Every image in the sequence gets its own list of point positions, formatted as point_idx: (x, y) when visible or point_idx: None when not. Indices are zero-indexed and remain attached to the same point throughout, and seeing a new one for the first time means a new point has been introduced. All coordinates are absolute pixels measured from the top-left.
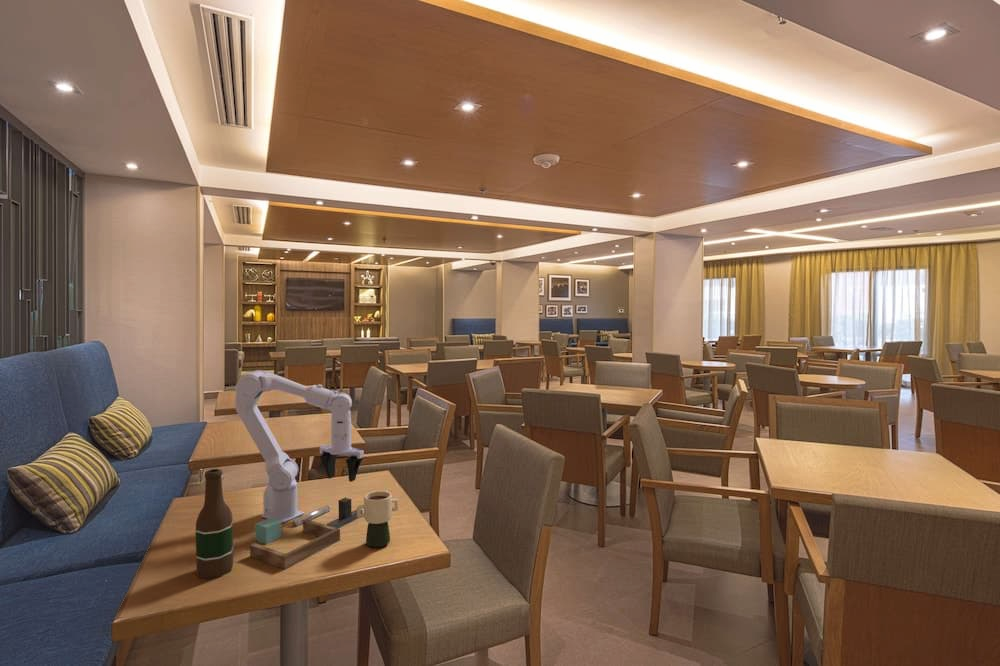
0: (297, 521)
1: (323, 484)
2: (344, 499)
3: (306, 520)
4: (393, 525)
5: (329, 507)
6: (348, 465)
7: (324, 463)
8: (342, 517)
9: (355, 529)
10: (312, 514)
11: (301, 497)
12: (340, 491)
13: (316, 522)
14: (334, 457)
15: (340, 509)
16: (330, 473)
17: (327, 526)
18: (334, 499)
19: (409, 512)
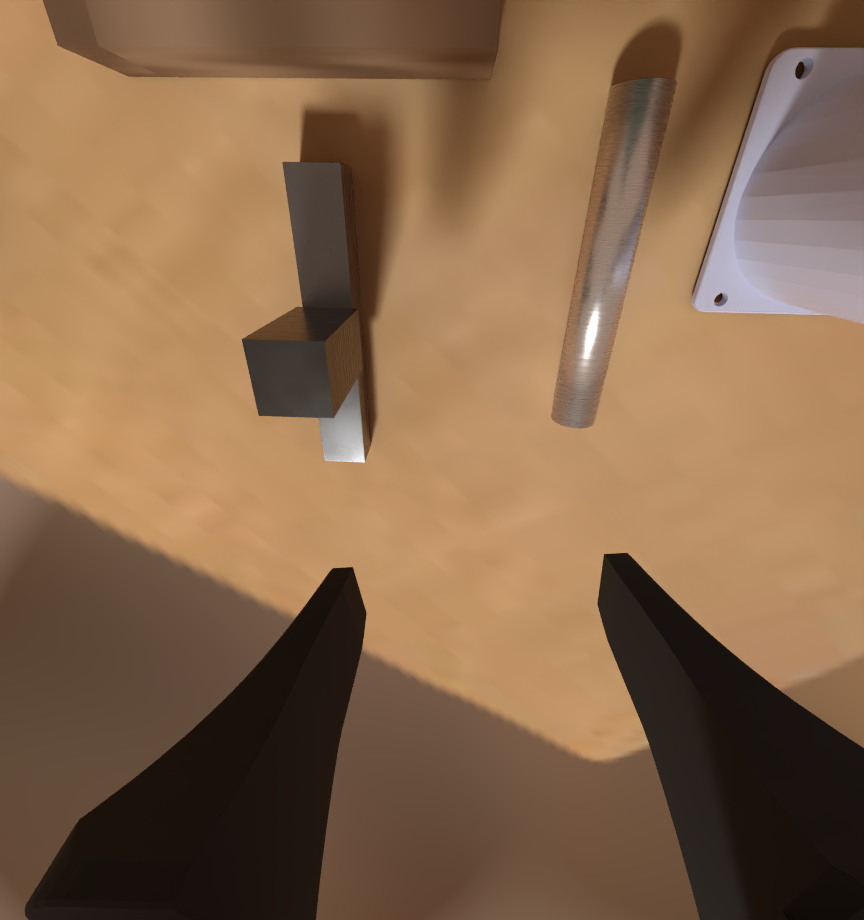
0: (623, 90)
1: (801, 633)
2: (301, 385)
3: (476, 21)
4: (107, 427)
5: (556, 422)
6: (237, 754)
7: (784, 720)
8: (318, 309)
9: (210, 286)
10: (588, 273)
11: (851, 486)
12: None
13: (354, 43)
14: (704, 879)
15: (321, 321)
16: (623, 605)
17: (191, 22)
18: (630, 534)
19: (190, 558)
